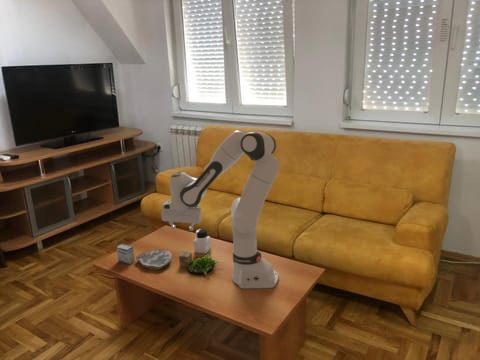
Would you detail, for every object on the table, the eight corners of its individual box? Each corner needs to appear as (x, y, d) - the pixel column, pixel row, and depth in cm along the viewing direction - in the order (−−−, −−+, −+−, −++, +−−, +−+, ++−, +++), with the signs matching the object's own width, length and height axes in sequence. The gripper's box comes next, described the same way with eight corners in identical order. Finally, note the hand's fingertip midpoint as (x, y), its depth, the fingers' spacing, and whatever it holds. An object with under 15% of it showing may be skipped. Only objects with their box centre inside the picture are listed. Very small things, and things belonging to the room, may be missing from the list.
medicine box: (118, 261, 222) (115, 247, 219) (123, 257, 226) (121, 243, 223) (129, 264, 218) (127, 250, 216) (135, 260, 222) (133, 246, 219)
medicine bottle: (210, 247, 233) (209, 228, 229) (206, 253, 226) (205, 233, 222) (199, 246, 235) (197, 227, 231) (194, 252, 228) (192, 232, 224)
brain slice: (180, 259, 222) (180, 254, 221) (158, 274, 209) (158, 269, 208) (153, 251, 232) (152, 246, 231) (130, 264, 219) (130, 259, 218)
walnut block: (192, 262, 218) (191, 252, 216) (188, 267, 214) (188, 256, 212) (183, 261, 219) (182, 251, 217) (179, 266, 215) (178, 256, 213)
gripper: (202, 203, 206) (204, 228, 211) (163, 200, 211) (166, 225, 215) (198, 207, 201) (200, 233, 205) (158, 205, 205) (161, 230, 210)
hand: (182, 229), depth 210 cm, fingers open, 8 cm apart
